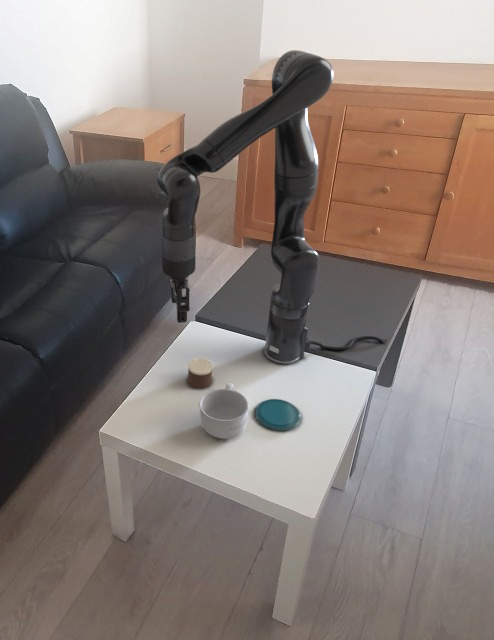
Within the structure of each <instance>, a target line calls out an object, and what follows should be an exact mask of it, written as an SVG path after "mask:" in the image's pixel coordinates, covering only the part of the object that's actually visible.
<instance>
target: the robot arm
mask: <svg viewBox="0 0 494 640" xmlns="http://www.w3.org/2000/svg"><path fill="white" fill-rule="evenodd" d="M333 80H334V68H333V66H332V64H331V62H329V61H328V60H327V59H326V58H325V57H322V56H320V55H317V54H313V53H310V52H307V51H303V50H297V49H293V50H292V49H291V50H288V51H286V52H285V53H284V54H282V55H281V56H280V57H279V58H278V60H277V61H276V62H275V64H274V66H273V70H272V74H271V92H272V93H271V95H270V96H269V97H267V98H266V99H265V100H263V101H262V102H260V103H258V104H257V105H255V106H253V107H252V108H250V109H247V110H244V111H243V112H241V113H239V114H236V115H235V116H233V117H231V118H229V119H227V120H226V121H224V122H223V123H221V124H220V125H218V126H217V127H216V128H215V129H214V130H212V131H211V132H210V133H209V134H208V135H206V137H204V138H203V139H202V140H201V141H199V142H198V144H196V145H194V146H192V147H190V148H188V149H186V150H184V151H183V152H181V153H179V154H177V155H175V156H174V157H172V158H171V159H169V160H168V161H167V162H166V163H165V164H164V165H162V167H161V169H160V170H159V172H158V174H157V185H158V187H159V188H160V190H161V191H162V192H163V193H164V194H165V195H166V197H167V198H168V199H167V201H168V205H167V206H168V207H166V208H165V210H164V211H163V212H162V213H163V214H162V239H161V262H162V263H161V268H162V272H163V274H165V276H168V282H169V288H170V296H171V303H172V304H176V306H175V307H176V322H177V323H178V324H180V323H187V321H188V312H190V309H191V307H190V291H191V290H190V289H191V288H190V287H189V286H190V281H189V278H188V277H189V276H191V275H192V274H193V273H195V271H196V257H197V256H196V253H197V251H196V250H197V247H196V246H197V243H196V214H197V211H198V207H199V203H200V198H201V183H200V179H199V176H201V175H203V174H204V173H210V174H213V173H214V174H215V173H217V172H219V171H220V170H222V169H223V168H224V167H225V166H226V165H228V164H229V163H230V162H231V161H233V160H234V159H235V158H236V157H237V156H239V154H241V153H243V151H244V150H246V149H247V148H248V147H249V146H251V145H253V144H254V143H255V142H256V141H258V140H259V139H261V138H262V137H263V136H265V135H266V134H267V133H269V132H271V131H273V130H275V131H274V169H273V170H274V175H273V176H274V177H273V178H274V181H273V182H274V183H273V187H274V188H273V189H274V206H273V207H274V224H273V230H272V231H273V232H272V238H271V239H272V241H271V248H270V258H271V262H272V265H274V267H275V269H276V270H278V272H279V273H280V274H281V277H280V282H278V283H276V284H275V285H274V286H273V287H272V290H271V295H270V303H269V312H268V321H267V329H266V337H265V345H264V355H265V357H266V358H267V359H268V360H270V361H271V362H274V363H276V364H282V365H290V364H294V363H296V362H298V361H299V360H302V359H304V356H305V353H306V352H310V347H311V345H316V346H318V347H320V348H322V349H325V350H329V351H346V350H348V349H350V348H351V347H352V346H353V345H354V343H356V342H358V341H363V340H374V341H378V342H379V343H381V344H386V342H385V340H384V339H383V338H381V337H380V336H379V337H378V336H375V335H363V336H357V337H354V338H352V339H351V340H350V341H349V343H348V344H347V345H345V346H331V345H325V344H323V343H322V342H320V341H317V340H310V339H309V338H308V331H309V330H308V327H307V317H308V310H309V305H310V299H311V297H312V296H313V294H314V293H315V290H316V286H317V281H318V277H319V276H318V275H319V272H320V266H321V259H320V255H319V254H318V252H317V251H316V250H315V249H314V248H313V247H312V246H311V245H310V244H309V243H308V242H307V241H306V238H305V237H306V236H305V216H306V213H307V211H308V209H309V207H310V205H311V204H312V202H313V200H314V198H315V196H316V194H317V189H318V184H319V182H318V181H319V165H320V164H319V155H318V151H317V150H318V149H317V147H316V144H315V141H314V140H315V139H314V138H313V134H312V132H311V127H310V124H309V117H308V109H309V107H311V106H313V105H314V104H316V103H317V102H319V101H320V100H321V99H322V98H323V97H324V96H325V95H326V94H327V93H328V92H329V90H330V88H331V86H332V84H333Z"/></svg>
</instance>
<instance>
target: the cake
mask: <svg viewBox="0 0 494 640" xmlns="http://www.w3.org/2000/svg"><path fill="white" fill-rule="evenodd" d="M187 371H188V372H187V383H188V385H189V386H191V387H192V388H195V389H201V390H202V389H205V388H206V389H207V388H208V387H209V386H211V384H212V380H213V379H212V378H213V364H212V362H211V361H210V360H208V359H205V358H194V359H192V360H191V361H189V362H188V364H187Z"/></svg>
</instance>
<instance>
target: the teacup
mask: <svg viewBox="0 0 494 640" xmlns="http://www.w3.org/2000/svg"><path fill="white" fill-rule="evenodd" d="M198 403H199V404H198V405H199V410H200V411H199V414H200V415H199V417H200V422H201V425H202V427H203V429H204V430H205V431H206V432H207V434H209V435H210V436H212V437H215V438H217V439H232V438H235V437H237V436H239V435H241V433H243V431H244V430H245V428H246V426H247V422H248V415H249V414H248V413H249V412H248V411H249V401H248V399H247V398H246V397H245V396H244V395H243V394H242V393H241V392H238V391H237V390H234V384H233V383H230V382H228V383H226V385H225V388H216V389H212V390H209V391H207V392H206V393H204V394H203V395H202V396H201V398H200V399H199V402H198Z"/></svg>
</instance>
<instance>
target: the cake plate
mask: <svg viewBox="0 0 494 640" xmlns="http://www.w3.org/2000/svg"><path fill="white" fill-rule="evenodd" d="M255 417H256V420H257V421H258V422H259V423H260V424H261V425H262V426H263V427H265V428H267V429H270V430H272V431H278V432H285V431H291V430H292V429H295V428H296V427H297V426H298V424H299V423H300V421H301V413H300V411H299V409H298V408H297V407H296V406H295V405H294V404H293V403H290V402H288V401H286V400H284V399H279V398H271V399H266V400H264V401H262V402H260V403H259V404H258V405H257V407H256V408H255Z"/></svg>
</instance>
